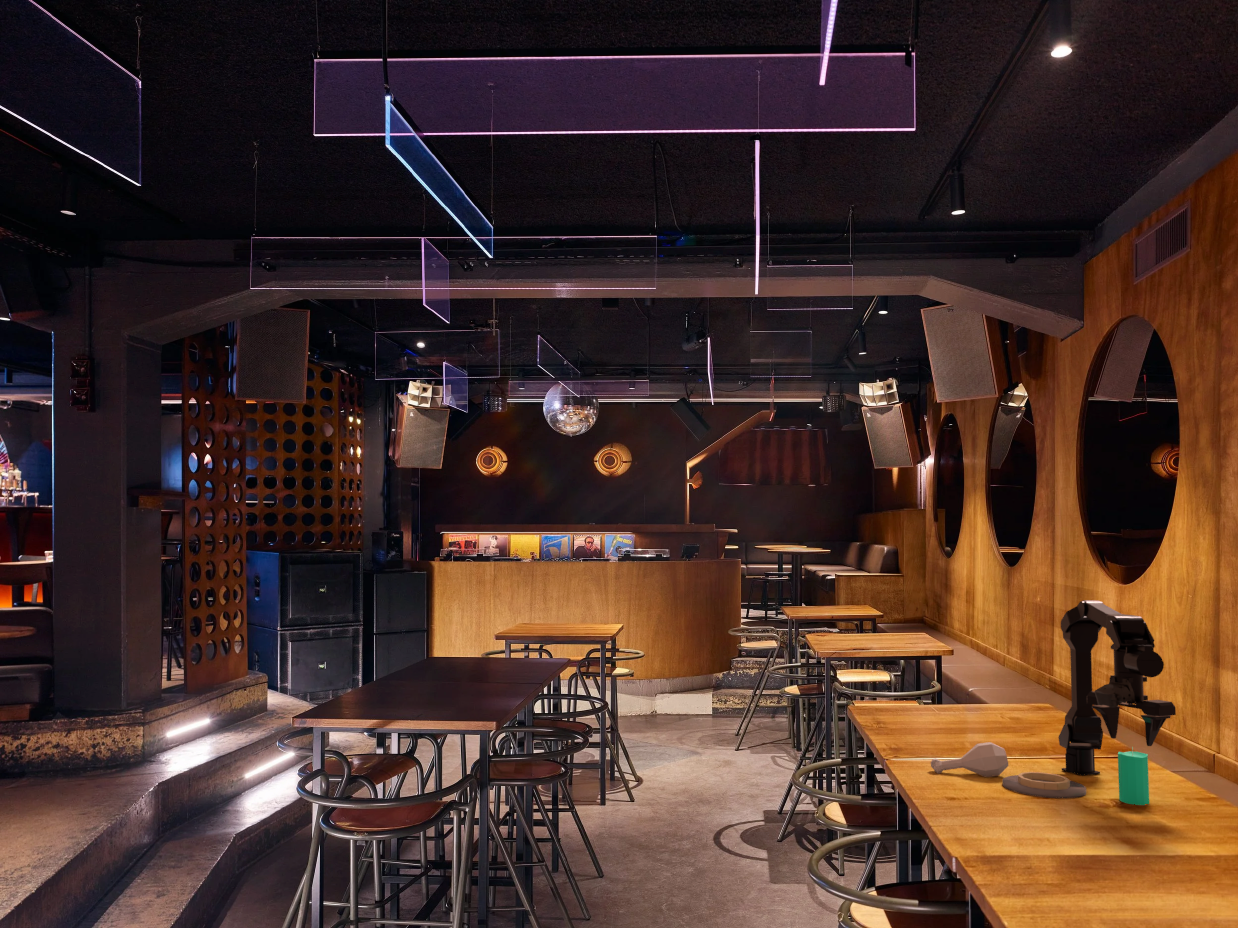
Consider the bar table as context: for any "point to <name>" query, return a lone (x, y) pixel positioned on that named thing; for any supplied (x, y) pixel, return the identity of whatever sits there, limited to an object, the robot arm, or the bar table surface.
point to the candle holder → (1044, 785)
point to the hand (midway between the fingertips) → (1131, 742)
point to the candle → (1133, 777)
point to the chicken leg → (977, 760)
